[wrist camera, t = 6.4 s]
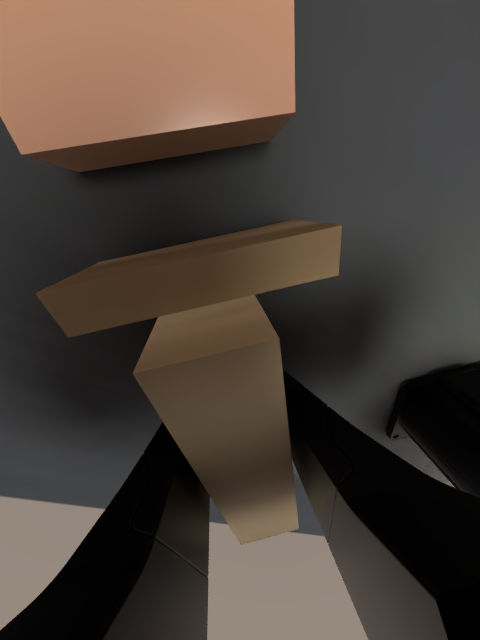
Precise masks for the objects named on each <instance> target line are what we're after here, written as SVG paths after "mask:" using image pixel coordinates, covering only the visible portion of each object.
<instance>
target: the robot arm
mask: <svg viewBox="0 0 480 640" xmlns="http://www.w3.org/2000/svg"><path fill="white" fill-rule="evenodd" d="M283 379H284V388H285V398H286V408H287V418H288V427H289V437H290V447H291V457H292V460H293V462H294V465H295V467H296V469H297V472H298V474H299V477H300V479H301V481H302V484H303V486H304V488H305V491H306V493H307V495H308V498H309V500H310V503H311V505H312V507H313V510H314V512H315V514H316V517H317V519H318V521H319V524H320V526H321V528H322V531H323V533H324V536H325V538H326V540H327V542H328V543H329V547H330V550H331V552H332V555H333V557H334V559H335V562H336V564H337V566H338V569H339V571H340V573H341V576H342V578H343V581H344V583H345V585H346V588H347V590H348V592H349V595H350V597H351V599H352V602H353V604H354V606H355V609H356V611H357V614H358V616H359V618H360V621H361V623H362V625H363V628H364V630H365V632H366V635H367V637H368V639H369V640H480V364H478V365H474V366H470V367H466V368H462V369H458V370H454V371H450V372H446V373H442V374H438V375H434V376H430V377H426V378H422V379H418V380H414V381H410V382H408V383H406V384H405V385H404V386H403V387H402V389H401V392H400V395H399V398H398V401H397V404H396V407H395V410H394V412H393V415H392V418H391V421H390V424H389V427H388V430H387V433H386V435H387V436H388V437H389V439H390V440H397V439H400V438H404V437H408V436H410V438H411V439H412V440H413V441H414V442H415V443H416V444H417V445H418V446H419V448H420V449H421V450H422V451H423V452H424V453H425V454H426V455H427V457H428V458H429V459H430V460H431V461H432V462H433V463H434V464H435V465H436V467H437V468H438V469H439V470H440V471H441V472H442V473H443V474H444V476H445V477H446V478H447V479H448V480H449V481H450V482H451V483H452V484H453V486H454V487H455V488H454V487H451V486H449V485H446V484H444V483H442V482H440V481H438V480H436V479H434V478H432V477H430V476H428V475H427V474H425V473H423V472H421V471H420V470H418V469H417V468H415V467H414V466H412V465H411V464H409V463H408V462H406V461H405V460H403V459H402V458H400V457H399V456H397V455H396V454H394V453H393V452H391V451H390V450H388V449H387V448H385V447H384V446H382V445H381V444H379V443H378V442H376V441H375V440H373V439H372V438H370V437H369V436H367V435H366V434H365V433H363V432H362V431H360V430H359V429H357V428H356V427H354V426H353V425H352V424H350V423H349V422H348V421H346V420H345V419H344V418H343V417H341V416H340V415H339V414H337V413H336V412H335V411H334V410H332V409H331V408H330V407H327V405H326V404H325V403H324V402H323V401H321V400H320V399H319V398H318V397H316V396H315V395H314V394H313V393H311V392H310V391H309V390H308V389H307V388H305V387H304V386H303V385H302V384H300V383H299V382H298V381H297V380H295V379H294V378H293V377H292V376H290V375H289V374H288V373H287V372H286V371H284V370H283ZM209 508H210V495H209V494H208V492H207V490H206V489H205V487H204V486H203V484H202V483H201V481H200V479H199V478H198V476H197V475H196V473H195V472H194V470H193V468H192V467H191V465H190V464H189V462H188V460H187V459H186V457H185V456H184V454H183V453H182V451H181V449H180V448H179V446H178V445H177V443H176V442H175V440H174V438H173V437H172V435H171V434H170V432H169V431H168V429H167V427H166V426H165V424H164V423H163V422H162V424H161V425H160V427H159V429H158V430H157V432H156V434H155V435H154V437H153V438H152V440H151V442H150V443H149V445H148V446H147V448H146V450H145V451H144V454H143V455H142V456H141V457H140V459H139V461H138V462H137V464H136V465H135V467H134V469H133V470H132V472H131V473H130V475H129V476H128V478H127V479H126V481H125V482H124V484H123V485H122V487H121V488H120V490H119V491H118V492H117V494H116V495H115V497H114V498H113V500H112V501H111V502H110V504H109V505H108V507H107V508H106V509H105V511H104V512H103V514H102V515H101V516H100V518H99V519H98V520H97V522H96V523H95V525H94V526H93V527H92V529H91V530H90V532H89V533H88V534H87V536H86V537H85V538H84V540H83V541H82V543H81V544H80V545H79V547H78V548H77V549H76V551H75V552H74V554H73V555H72V556H71V558H70V559H69V561H68V562H67V563H66V565H65V566H64V567H63V569H62V570H61V571H60V572H59V573H58V575H57V576H56V577H55V578H54V579H53V581H52V582H51V583H50V584H49V585H48V586H47V587H46V588H45V589H44V591H43V592H42V593H41V594H40V595H39V596H38V597H37V598H36V599H35V600H34V601H33V602H32V603H30V604H29V605H28V606H27V607H26V608H25V609H24V610H23V611H22V612H21V613H19V615H17V616H16V617H15V618H14V619H13V620H12V621H10V622H9V623H8V624H7V625H6V626H5V627H4V628H2V630H0V640H207V615H208V613H207V612H208V578H207V577H208V560H209V559H208V557H209Z"/></svg>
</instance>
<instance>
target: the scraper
mask: <svg viewBox="0 0 480 640" xmlns="http://www.w3.org/2000/svg"><path fill="white" fill-rule="evenodd" d="M341 233H342V225H336V224H327V223H318V222H309V221H300V220H289V221H285V222H280V223H276V224H271V225H267V226H262V227H257V228H253V229H248V230H244V231H239V232H235V233H230V234H226V235H221V236H216V237H212V238H207V239H203V240H198V241H194V242H189V243H184V244H180V245H175V246H171V247H166V248H162V249H157V250H152V251H148V252H143V253H139V254H134V255H130V256H125V257H120V258H116V259H111V260H107V261H102V262H99V263H96V264H94V265H92V266H90V267H88V268H86V269H84V270H82V271H80V272H78V273H76V274H74V275H72V276H70V277H68V278H65V279H63V280H61V281H59V282H57V283H55V284H53V285H51V286H49V287H47V288H45V289H43V290H41V291H39V292H36V293H35V295H36V296H37V297H38V299H39V300H40V301H41V302H42V304H43V305H44V306H45V308H46V309H47V310H48V312H49V313H50V314H51V316H52V317H53V318H54V319H55V321H56V322H57V323H58V325H59V326H60V327H61V329H62V330H63V331H64V333H65V334H66V335H67V337H68V338H69V337H74V336H78V335H82V334H87V333H91V332H95V331H100V330H104V329H108V328H113V327H117V326H121V325H126V324H130V323H134V322H139V321H143V320H147V319H152V318H156V317H158V319H157V321H156V323H155V325H154V327H153V330H152V332H151V334H150V336H149V338H148V341H147V343H146V345H145V347H144V349H143V352H142V354H141V356H140V358H139V360H138V363H137V365H136V367H135V369H134V371H133V375H134V377H135V379H136V380H137V382H138V383H139V385H140V386H141V388H142V390H143V391H144V393H145V394H146V396H147V397H148V399H149V401H150V402H151V404H152V405H153V407H154V408H155V410H156V412H157V413H158V415H159V416H160V418H161V420H162V421H163V423H164V424H165V426H166V427H167V429H168V431H169V432H170V434H171V435H172V437H173V438H174V440H175V442H176V443H177V445H178V446H179V448H180V449H181V451H182V453H183V454H184V456H185V457H186V459H187V460H188V462H189V464H190V465H191V467H192V468H193V470H194V472H195V473H196V475H197V476H198V478H199V479H200V481H201V483H202V484H203V486H204V487H205V489H206V490H207V492H208V494H209V495H210V497H211V498H212V500H213V501H214V503H215V505H216V506H217V508H218V509H219V511H220V512H221V514H222V516H223V517H224V519H225V520H226V522H227V523H228V525H229V527H230V528H231V530H232V531H233V533H234V535H235V536H236V538H237V539H238V541H239V542H240V544H245V543H249V542H253V541H256V540H260V539H263V538H267V537H271V536H275V535H278V534H282V533H285V532H289V531H293V530H296V529H299V525H298V516H297V506H296V496H295V486H294V476H293V467H292V457H291V447H290V437H289V427H288V418H287V408H286V398H285V388H284V379H283V369H282V359H281V349H280V339H279V337H278V335H277V333H276V331H275V330H274V328H273V326H272V324H271V323H270V321H269V319H268V317H267V316H266V314H265V312H264V310H263V309H262V307H261V305H260V303H259V301H258V300H257V298H256V296H255V294H260V293H264V292H268V291H273V290H277V289H281V288H286V287H290V286H294V285H299V284H303V283H307V282H311V281H316V280H320V279H324V278H329V277H333V276H337V275H339V261H340V247H341Z"/></svg>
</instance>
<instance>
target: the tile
mask: <svg viewBox="0 0 480 640" xmlns="http://www.w3.org/2000/svg"><path fill="white" fill-rule="evenodd" d="M294 113H295V44H294V0H0V117H1V118H2V120H3V122H4V124H5V126H6V127H7V129H8V131H9V133H10V135H11V137H12V138H13V140H14V142H15V144H16V146H17V147H18V149H19V151H20V153H21V155H24V156H27V157H31V158H34V159H37V160H41V161H44V162H47V163H50V164H54V165H57V166H60V167H63V168H67V169H70V170H73V171H76V172H84V171H90V170H96V169H102V168H108V167H115V166H121V165H127V164H133V163H139V162H145V161H151V160H158V159H164V158H170V157H176V156H182V155H188V154H194V153H201V152H207V151H213V150H219V149H225V148H231V147H237V146H243V145H250V144H256V143H262V142H268V141H270V140H271V139H272V138H273V136H274V135H275V134H276V133H277V132H278V131H279V130H280V129H281V128H282V126H283V125H284V124H285V123H286V122H287V121H288V120H289V119H290V117H291V116H292V115H293V114H294Z"/></svg>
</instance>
